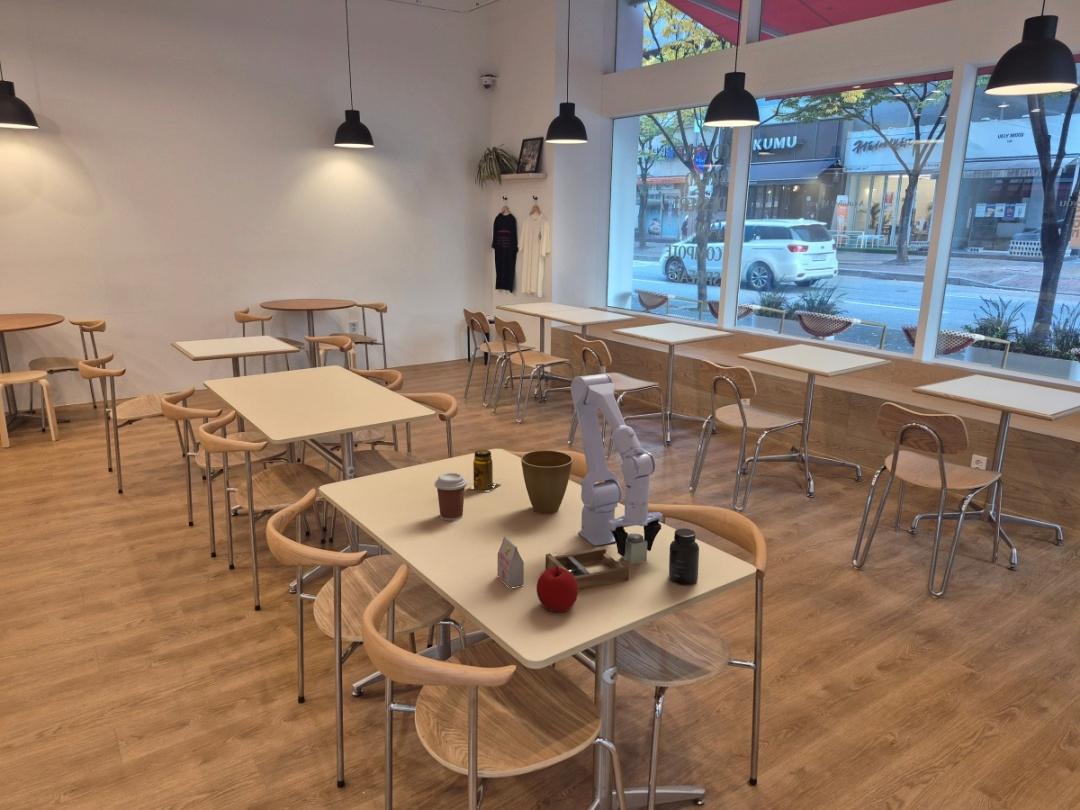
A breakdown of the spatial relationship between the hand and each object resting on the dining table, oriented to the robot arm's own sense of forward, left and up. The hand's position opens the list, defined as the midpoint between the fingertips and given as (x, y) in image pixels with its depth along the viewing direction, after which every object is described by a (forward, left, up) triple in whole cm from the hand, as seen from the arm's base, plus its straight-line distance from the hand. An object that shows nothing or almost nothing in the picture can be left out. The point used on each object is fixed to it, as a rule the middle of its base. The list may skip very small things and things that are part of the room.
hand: (634, 551), depth 183 cm
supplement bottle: (+14, +5, -2) cm, 15 cm away
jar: (0, 0, -2) cm, 2 cm away
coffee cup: (-44, -34, -2) cm, 56 cm away
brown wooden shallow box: (+3, -15, -2) cm, 15 cm away
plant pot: (-38, -7, -2) cm, 39 cm away
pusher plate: (+3, -19, -2) cm, 19 cm away
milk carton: (-1, -33, -2) cm, 33 cm away
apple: (+14, -28, -2) cm, 31 cm away
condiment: (-63, -17, -2) cm, 65 cm away
